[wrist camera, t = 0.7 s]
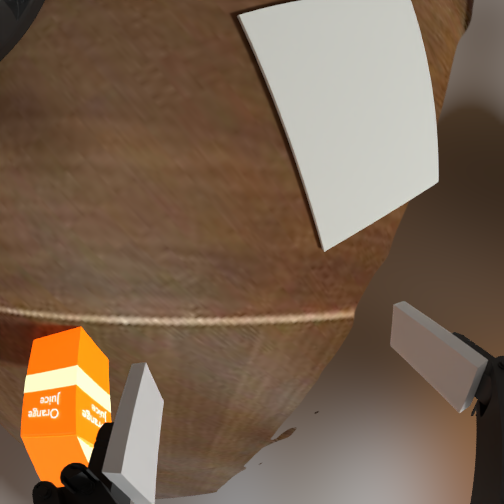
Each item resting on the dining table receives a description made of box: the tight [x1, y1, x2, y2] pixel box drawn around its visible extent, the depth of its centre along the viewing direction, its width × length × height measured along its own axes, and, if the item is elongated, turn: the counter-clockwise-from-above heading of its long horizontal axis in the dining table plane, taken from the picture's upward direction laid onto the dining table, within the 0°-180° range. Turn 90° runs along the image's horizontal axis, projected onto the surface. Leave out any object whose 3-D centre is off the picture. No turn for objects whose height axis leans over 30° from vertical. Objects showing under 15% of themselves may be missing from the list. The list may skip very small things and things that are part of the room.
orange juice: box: [21, 327, 111, 487], centre depth 23 cm, size 8×9×20 cm
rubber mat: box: [237, 0, 438, 251], centre depth 26 cm, size 28×22×1 cm
